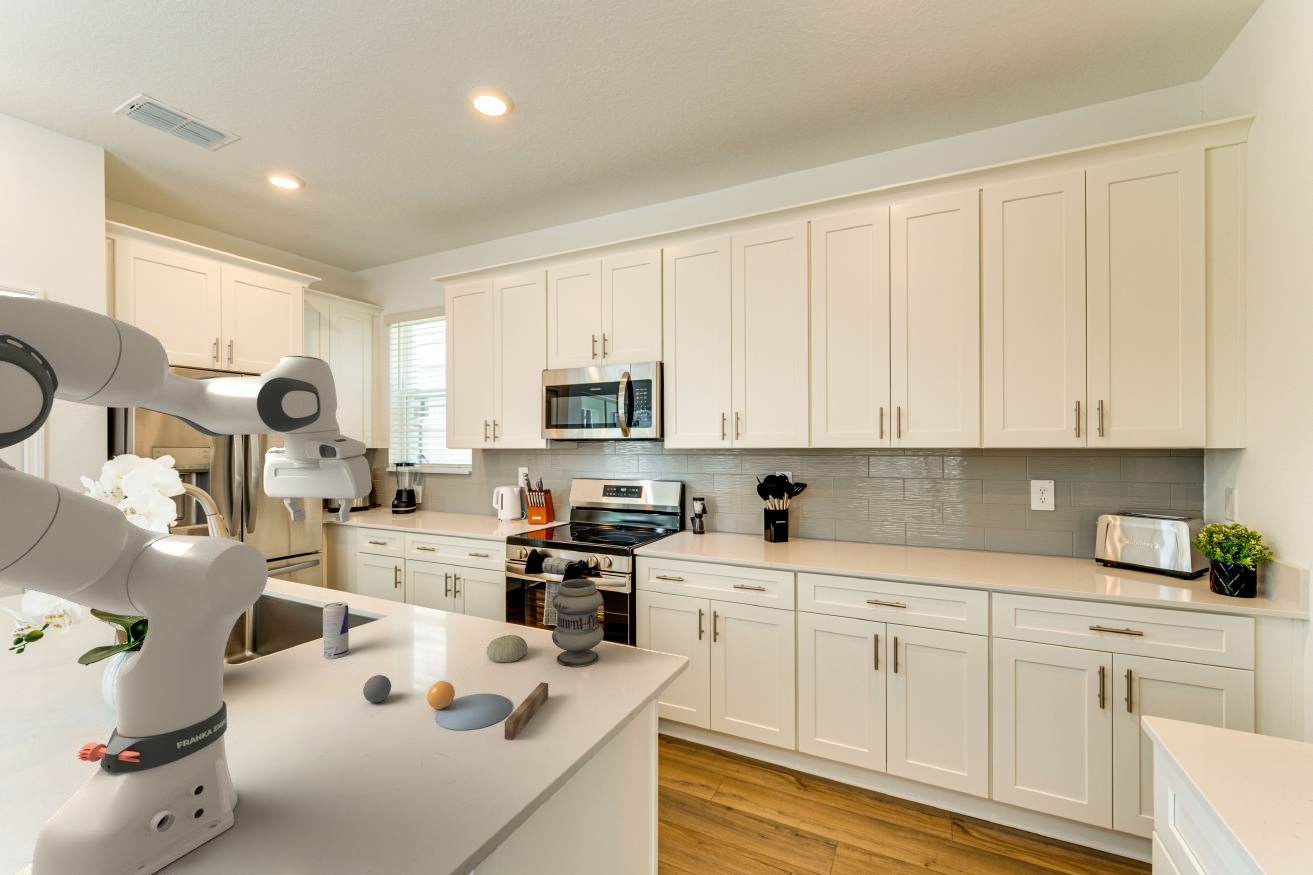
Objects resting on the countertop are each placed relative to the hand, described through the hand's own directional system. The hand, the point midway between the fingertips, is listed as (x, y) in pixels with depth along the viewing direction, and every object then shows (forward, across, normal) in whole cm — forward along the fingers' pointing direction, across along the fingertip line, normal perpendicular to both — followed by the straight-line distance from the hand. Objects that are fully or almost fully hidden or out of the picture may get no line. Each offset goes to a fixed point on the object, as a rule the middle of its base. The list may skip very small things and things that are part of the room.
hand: (320, 521), depth 104 cm
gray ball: (+35, +4, +5) cm, 36 cm away
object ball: (+35, +18, +5) cm, 40 cm away
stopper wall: (+38, +36, +5) cm, 53 cm away
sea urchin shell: (+41, +19, +31) cm, 55 cm away
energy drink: (+40, -22, +24) cm, 51 cm away
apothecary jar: (+41, +36, +33) cm, 64 cm away
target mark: (+38, +26, +5) cm, 46 cm away
